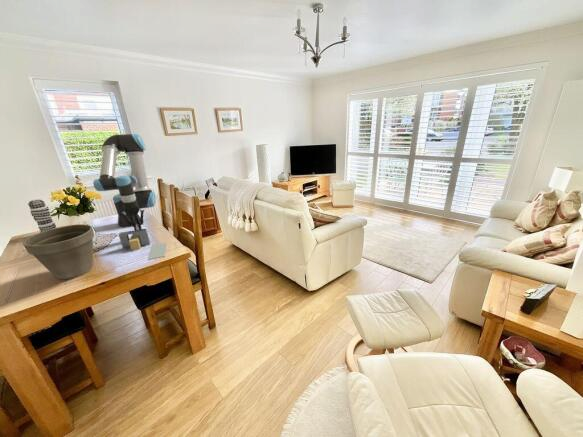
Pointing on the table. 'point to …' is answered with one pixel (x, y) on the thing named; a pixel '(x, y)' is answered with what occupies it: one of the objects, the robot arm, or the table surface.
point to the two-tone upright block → (135, 241)
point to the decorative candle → (41, 215)
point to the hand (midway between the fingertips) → (139, 234)
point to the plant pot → (63, 250)
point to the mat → (158, 251)
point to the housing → (142, 232)
